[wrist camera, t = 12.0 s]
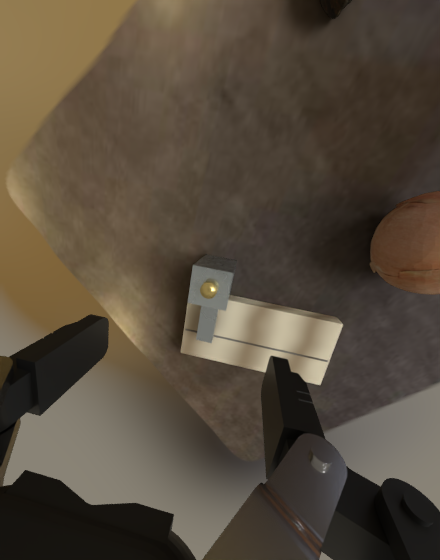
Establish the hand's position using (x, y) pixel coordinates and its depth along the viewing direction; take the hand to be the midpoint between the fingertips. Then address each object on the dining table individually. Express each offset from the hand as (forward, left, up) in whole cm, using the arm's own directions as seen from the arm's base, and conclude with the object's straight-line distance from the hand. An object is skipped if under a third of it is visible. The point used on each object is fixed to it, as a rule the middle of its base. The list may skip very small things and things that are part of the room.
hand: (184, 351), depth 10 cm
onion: (-19, -7, -18) cm, 27 cm away
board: (-6, +8, -18) cm, 21 cm away
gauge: (+1, +4, -18) cm, 19 cm away
